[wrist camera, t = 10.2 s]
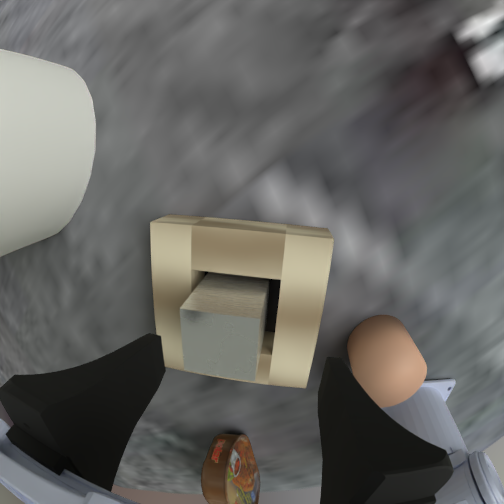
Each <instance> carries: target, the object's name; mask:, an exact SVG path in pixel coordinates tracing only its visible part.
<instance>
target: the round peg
mask: <svg viewBox="0 0 504 504" xmlns="http://www.w3.org/2000/svg"><path fill="white" fill-rule="evenodd" d="M347 351H348V355H349V359H350V363H351V368H352V372H353V376H354V377H355V378H356V380H357V381H358V382H359V384H360V385H361V386H362V388H363V389H364V390H365V391H366V393H367V394H368V395H369V396H370V397H371V398H372V400H373V401H374V402H375V403H376V404H377V405H378V406H379V407H380V408H384V407H390V406H394V405H397V404H399V403H401V402H403V401H405V400H407V399H408V398H410V397H411V396H412V395H413V394H415V393H416V392H417V390H418V389H419V388H420V387H421V385H422V384H423V382H424V380H425V377H426V373H427V366H426V363H425V361H424V359H423V357H422V355H421V354H420V352H419V350H418V349H417V347H416V345H415V344H414V342H413V340H412V339H411V337H410V335H409V334H408V332H407V330H406V329H405V327H404V325H403V324H402V323H401V321H400V320H398V319H397V318H395V317H393V316H390V315H377V316H373V317H370V318H368V319H366V320H364V321H363V322H361V323H360V324H359V325H358V326H357V327H356V328H355V329H354V330H353V331H352V333H351V335H350V337H349V339H348V343H347Z"/></svg>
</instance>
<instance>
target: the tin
mask: <svg viewBox="0 0 504 504" xmlns="http://www.w3.org/2000/svg"><path fill="white" fill-rule="evenodd" d="M201 486H202V492H203V495H204V497H205V499H206V500H207V502H208V503H209V504H258V500H259V492H260V476H259V471H258V468H257V465H256V461H255V458H254V455H253V451H252V448H251V444H250V441H249V439H248V437H247V436H246V435H244V434H241V435H233V434H220V435H217V436H216V437H215V438H214V439H213V442H212V444H211V446H210V449H209V451H208V454H207V457H206V459H205V461H204V463H203V467H202V473H201Z"/></svg>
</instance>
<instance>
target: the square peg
mask: <svg viewBox="0 0 504 504" xmlns="http://www.w3.org/2000/svg"><path fill="white" fill-rule="evenodd" d="M269 289H270V279H269V278H260V277H251V276H242V275H234V274H225V273H217V272H208V274H207V275H206V276H205V277H204V279H203V280H202V281H201V282H200V283H199V285H198V286H197V287H196V288H195V290H194V291H193V292H192V294H191V295H190V296H189V297H188V299H187V300H186V301H185V302H184V304H183V305H182V306H181V307H180V322H181V336H182V349H183V360H184V370H187V371H192V372H197V373H203V374H209V375H215V376H221V377H227V378H234V379H241V380H249V381H255V379H256V374H257V369H258V364H259V359H260V353H261V348H262V343H263V338H264V333H265V327H266V322H267V313H268V301H269Z"/></svg>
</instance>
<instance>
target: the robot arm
mask: <svg viewBox="0 0 504 504" xmlns="http://www.w3.org/2000/svg"><path fill="white" fill-rule="evenodd" d="M164 373H165V364H164V356H163V348H162V339H161V336H160V335H155V334H150V333H149V334H146V335H144V336H142V337H140V338H139V339H137V340H135V341H133V342H131V343H129V344H127V345H126V346H124V347H122V348H120V349H118V350H116V351H114V352H112V353H110V354H108V355H105V356H103V357H101V358H99V359H97V360H94V361H92V362H89V363H86V364H83V365H81V366H77V367H74V368H70V369H66V370H62V371H57V372H52V373H45V374H35V375H14V376H13V377H12V378H10V379H9V380H8V381H7V382H6V383H5V384H4V385H3V386H2V387H1V388H0V401H1V402H2V405H3V406H4V408H5V410H6V412H7V413H8V415H9V417H10V418H11V420H12V421H13V423H14V425H13V426H12V427H11V428H10V426H9V425H8V424H7V423H6V422H4V421H3V420H2V419H1V418H0V483H2V485H4V486H5V487H6V488H7V489H8V490H9V491H11V492H12V493H13V494H14V495H15V496H16V497H18V498H19V499H20V500H21V501H23V502H24V503H25V504H140V503H137V502H134V501H132V500H129V499H127V498H124V497H121V496H119V495H117V494H114V493H112V492H111V490H112V486H113V483H114V479H115V476H116V473H117V470H118V467H119V464H120V461H121V458H122V455H123V453H124V450H125V448H126V445H127V443H128V441H129V438H130V436H131V434H132V432H133V429H134V428H135V426H136V424H137V422H138V420H139V419H140V417H141V416H142V414H143V412H144V411H145V409H146V407H147V406H148V404H149V403H150V401H151V399H152V398H153V396H154V394H155V393H156V391H157V389H158V387H159V385H160V383H161V381H162V378H163V376H164ZM455 383H456V382H455V380H454V379H444V380H431V381H424V382H423V384H422V385H421V387H420V388H419V389H418V390H417V392H416V393H415V394H413V395H412V396H411V397H410V398H408V399H407V400H405V401H403V402H401V403H399V404H397V405H394V406H390V407H384V408H380V407H379V406H378V405H377V404H376V403H375V402H374V401H373V400H372V398H371V397H370V396H369V395H368V394H367V393H366V391H365V390H364V389H363V388H362V386H361V385H360V384H359V382H358V381H357V380H356V378H355V377H354V376H353V374H352V373H351V371H350V370H349V368H348V367H347V365H346V364H345V363H344V361H343V360H342V358H332V357H327V360H326V364H325V368H324V372H323V376H322V380H321V384H320V387H319V391H318V417H319V427H320V436H321V445H322V458H323V465H322V486H321V499H320V504H504V488H503V485H502V483H501V480H500V478H499V476H498V474H497V471H496V469H495V468H494V465H493V464H492V462H491V460H490V459H489V457H488V456H487V454H486V453H485V452H478V451H474V452H473V453H472V454H469V453H468V450H467V448H466V446H465V444H464V441H463V439H462V437H461V435H460V432H459V430H458V428H457V426H456V424H455V422H454V420H453V418H452V416H451V413H450V411H449V409H448V407H447V405H446V403H445V402H446V400H447V398H448V396H449V395H450V393H451V391H452V389H453V387H454V385H455Z"/></svg>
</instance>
